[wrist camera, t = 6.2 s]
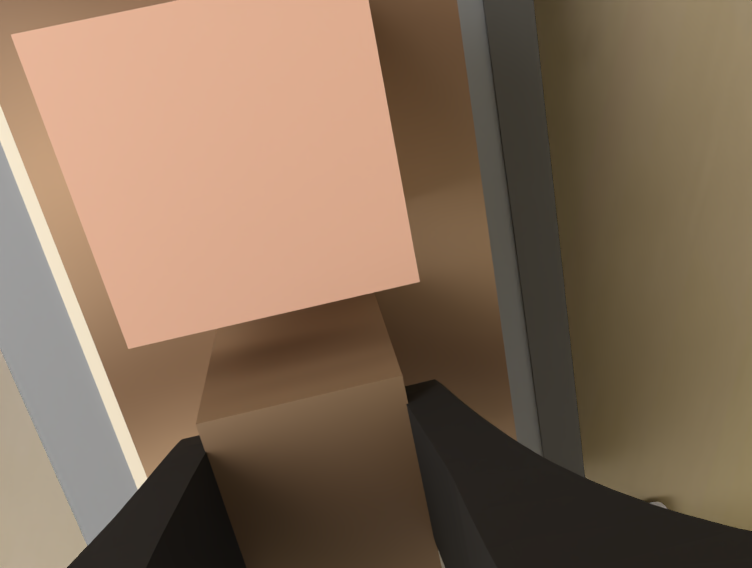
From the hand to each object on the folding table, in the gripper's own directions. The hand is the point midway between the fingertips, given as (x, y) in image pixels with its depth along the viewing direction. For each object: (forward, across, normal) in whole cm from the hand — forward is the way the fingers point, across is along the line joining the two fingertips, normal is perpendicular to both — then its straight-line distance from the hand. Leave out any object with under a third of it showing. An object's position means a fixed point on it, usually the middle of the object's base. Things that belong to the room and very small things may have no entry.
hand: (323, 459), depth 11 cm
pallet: (+5, 0, 0) cm, 5 cm away
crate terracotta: (+3, 0, -5) cm, 6 cm away
